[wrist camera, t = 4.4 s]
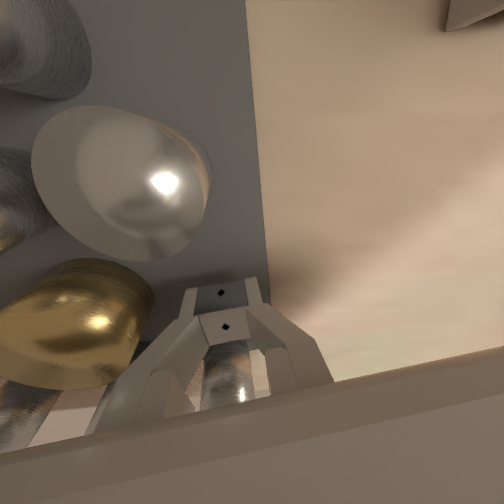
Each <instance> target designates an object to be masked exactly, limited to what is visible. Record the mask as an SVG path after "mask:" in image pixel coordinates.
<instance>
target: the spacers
mask: <svg viewBox="0 0 504 504" xmlns="http://www.w3.org/2000/svg"><path fill="white" fill-rule="evenodd" d="M91 70H92V56H91V49H90V45H89V41H88V38H87V35H86V32H85V29H84V27H83V25H82V22H81V20H80V18H79V16H78V15H77V13H76V11H75V9H74V8H73V6H72V4H71V3H70V1H69V0H0V87H2V88H6V89H10V90H14V91H18V92H22V93H26V94H30V95H34V96H38V97H43V98H47V99H51V100H68V99H71V98H74V97H76V96H77V95H79V94H80V93H81V92H82V91H83V90H84V89H85V88H86V86H87V84H88V82H89V80H90V76H91ZM212 180H213V167H212V162H211V159H210V156H209V154H208V152H207V150H206V149H205V147H204V146H203V145H202V143H201V142H200V141H199V140H198V139H197V138H196V137H194V136H193V135H192V134H190V133H189V132H187V131H185V130H183V129H180V128H177V127H174V126H171V125H168V124H165V123H162V122H158V121H155V120H152V119H149V118H146V117H143V116H140V115H137V114H134V113H131V112H127V111H124V110H121V109H117V108H113V107H108V106H99V105H86V106H79V107H74V108H70V109H67V110H65V111H62V112H60V113H58V114H57V115H55V116H54V117H52V118H51V119H49V120H48V121H47V122H46V123H45V124H44V125H43V127H42V128H41V130H40V131H39V133H38V134H37V136H36V139H35V142H34V144H33V148H32V154H31V153H29V152H26V151H24V150H20V149H17V148H11V147H0V254H2V253H4V252H6V251H8V250H10V249H12V248H14V247H16V246H18V245H20V244H22V243H24V242H26V241H28V240H30V239H32V238H34V237H36V236H38V235H40V234H42V233H44V232H46V231H48V230H50V229H52V228H54V227H56V226H58V225H61V226H62V227H63V228H64V229H65V230H66V231H67V232H69V233H70V234H71V235H72V236H73V237H75V238H76V239H78V240H79V241H80V242H82V243H83V244H85V245H87V246H88V247H90V248H92V249H94V250H96V251H98V252H100V253H103V254H105V255H108V256H111V257H114V258H118V259H122V260H127V261H136V262H148V261H156V260H161V259H164V258H167V257H170V256H172V255H174V254H176V253H178V252H179V251H181V250H182V249H184V248H185V247H186V246H187V245H188V244H189V243H190V242H191V241H192V239H193V238H194V237H195V235H196V233H197V232H198V229H199V227H200V224H201V221H202V217H203V214H204V210H205V206H206V203H207V199H208V195H209V192H210V188H211V184H212ZM151 343H152V341H139V342H138V344H137V347H136V349H135V351H134V354H133V356H132V359H131V361H130V363H129V366H130V365H131V364H132V363H133V362H134V361H135V360H136V359H137V358H138V357H139V356H140V355H141V354H142V353H143V351H144V350H145V349H146V348H147V347H148V346H149V345H150V344H151ZM129 366H128V367H129ZM116 381H117V380H115V381H113V382H111V383H109V384H108V386H107V388H106V390H105V392H104V394H103V396H102V398H101V400H100V402H99V405H98V407H97V409H96V411H95V413H94V415H93V417H92V419H91V421H90V424H89V426H88V428H87V430H86V432H85V434H84V436H86V435H90V434H93V432H94V430H95V428H96V426H97V423H98V421H99V419H100V417H101V414H102V412H103V410H104V408H105V406H106V403H107V401H108V399H109V397H110V394H111V392H112V390H113V388H114V386H115V383H116ZM63 391H64V390H55V389H45V388H38V387H33V386H28V385H24V384H20V383H17V382H14V381H11V380H8V381H7V382H6V383H5V384H4V385H3V386H2V387H1V388H0V454H2V453H6V452H11V451H16V450H20V449H25V448H27V447H28V445H29V443H30V442H31V440H32V438H33V437H34V436H35V434H36V432H37V431H38V429H39V428H40V426H41V425H42V423H43V421H44V420H45V419H46V417H47V415H48V414H49V412H50V411H51V409H52V408H53V406H54V405H55V403H56V401H57V400H58V398H59V397H60V395H61V394H62V392H63ZM254 399H255V395H254V387H253V379H252V371H251V363H250V355H249V347H248V339H241V340H235V341H229V342H225V343H221V344H216V345H212V346H209V349H208V351H207V352H206V354H205V357H204V368H203V380H202V391H201V403H200V411H202V410H207V409H212V408H216V407H221V406H226V405H230V404H235V403H240V402H244V401H249V400H254Z"/></svg>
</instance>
